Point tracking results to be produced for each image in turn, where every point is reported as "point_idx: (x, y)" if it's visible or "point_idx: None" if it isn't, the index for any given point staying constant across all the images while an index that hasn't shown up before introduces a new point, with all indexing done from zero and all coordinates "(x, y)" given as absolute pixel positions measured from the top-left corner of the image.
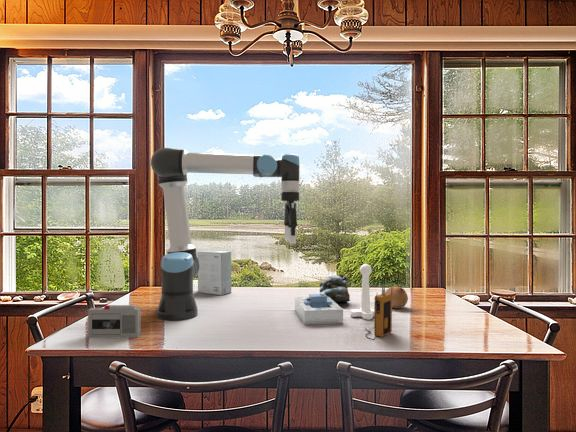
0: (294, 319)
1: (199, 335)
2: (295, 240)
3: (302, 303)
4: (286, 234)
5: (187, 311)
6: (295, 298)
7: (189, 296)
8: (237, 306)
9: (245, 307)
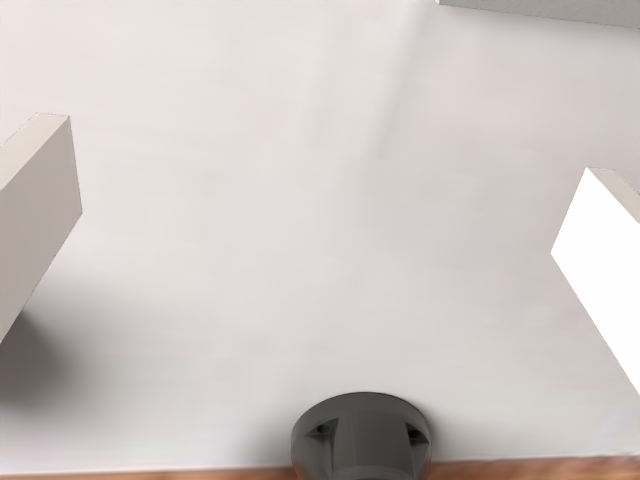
0: (619, 51)
1: (627, 391)
2: (634, 203)
3: (626, 5)
4: (34, 253)
5: (421, 437)
6: (460, 6)
7: (408, 477)
8: (268, 260)
9: (297, 231)
